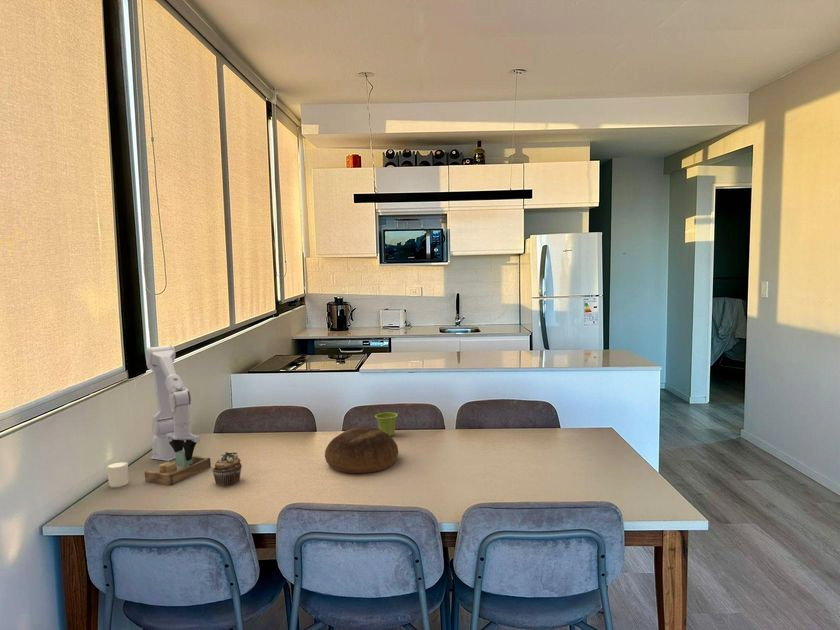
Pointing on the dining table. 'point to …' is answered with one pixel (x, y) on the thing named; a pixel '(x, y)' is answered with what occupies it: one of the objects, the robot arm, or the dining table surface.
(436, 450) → the dining table surface
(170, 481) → the corral
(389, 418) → the plant pot
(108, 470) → the white cylinder
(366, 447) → the bread
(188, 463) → the teal block
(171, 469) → the oak block
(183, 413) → the robot arm
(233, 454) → the cupcake
